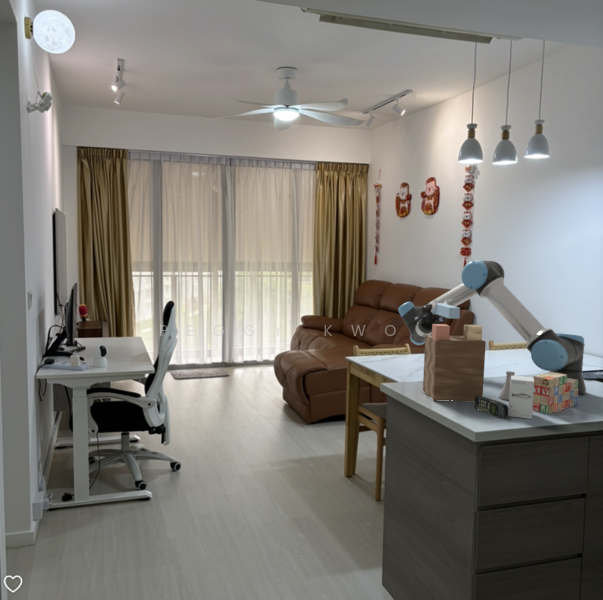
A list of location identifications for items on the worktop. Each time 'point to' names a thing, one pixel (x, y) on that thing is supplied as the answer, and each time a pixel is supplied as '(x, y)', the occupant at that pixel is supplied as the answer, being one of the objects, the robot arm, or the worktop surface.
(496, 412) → the mobile phone
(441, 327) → the brick cube
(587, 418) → the worktop surface
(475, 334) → the oak cube
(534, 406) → the stack of blocks
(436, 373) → the walnut stand
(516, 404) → the supplement box
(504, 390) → the flask
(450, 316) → the blue bar
